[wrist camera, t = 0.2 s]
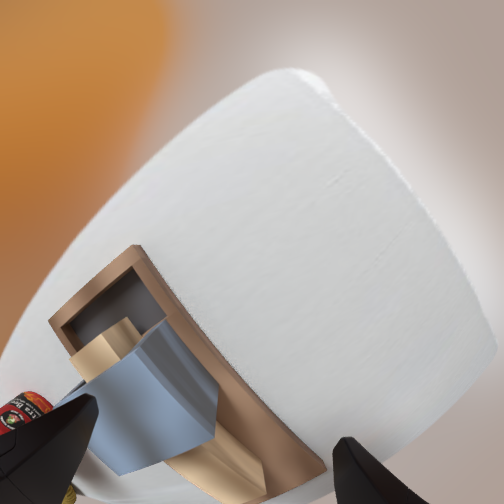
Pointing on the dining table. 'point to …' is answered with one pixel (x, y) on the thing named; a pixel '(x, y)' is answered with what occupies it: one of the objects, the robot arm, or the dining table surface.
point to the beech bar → (196, 459)
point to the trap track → (169, 381)
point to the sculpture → (70, 496)
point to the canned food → (22, 410)
